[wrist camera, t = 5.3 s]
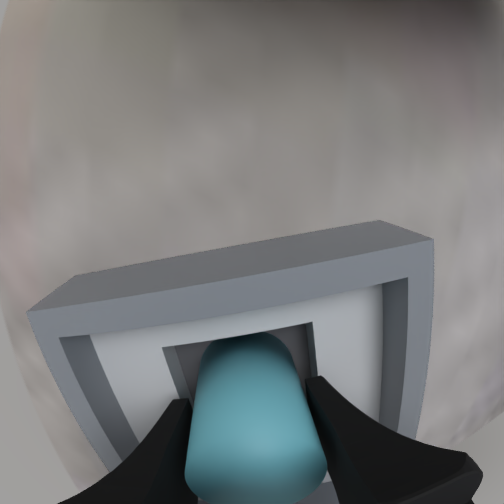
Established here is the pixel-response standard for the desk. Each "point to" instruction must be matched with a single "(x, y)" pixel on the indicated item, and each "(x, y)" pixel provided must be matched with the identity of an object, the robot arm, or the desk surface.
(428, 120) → the desk surface
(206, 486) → the peg
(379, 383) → the socket box
